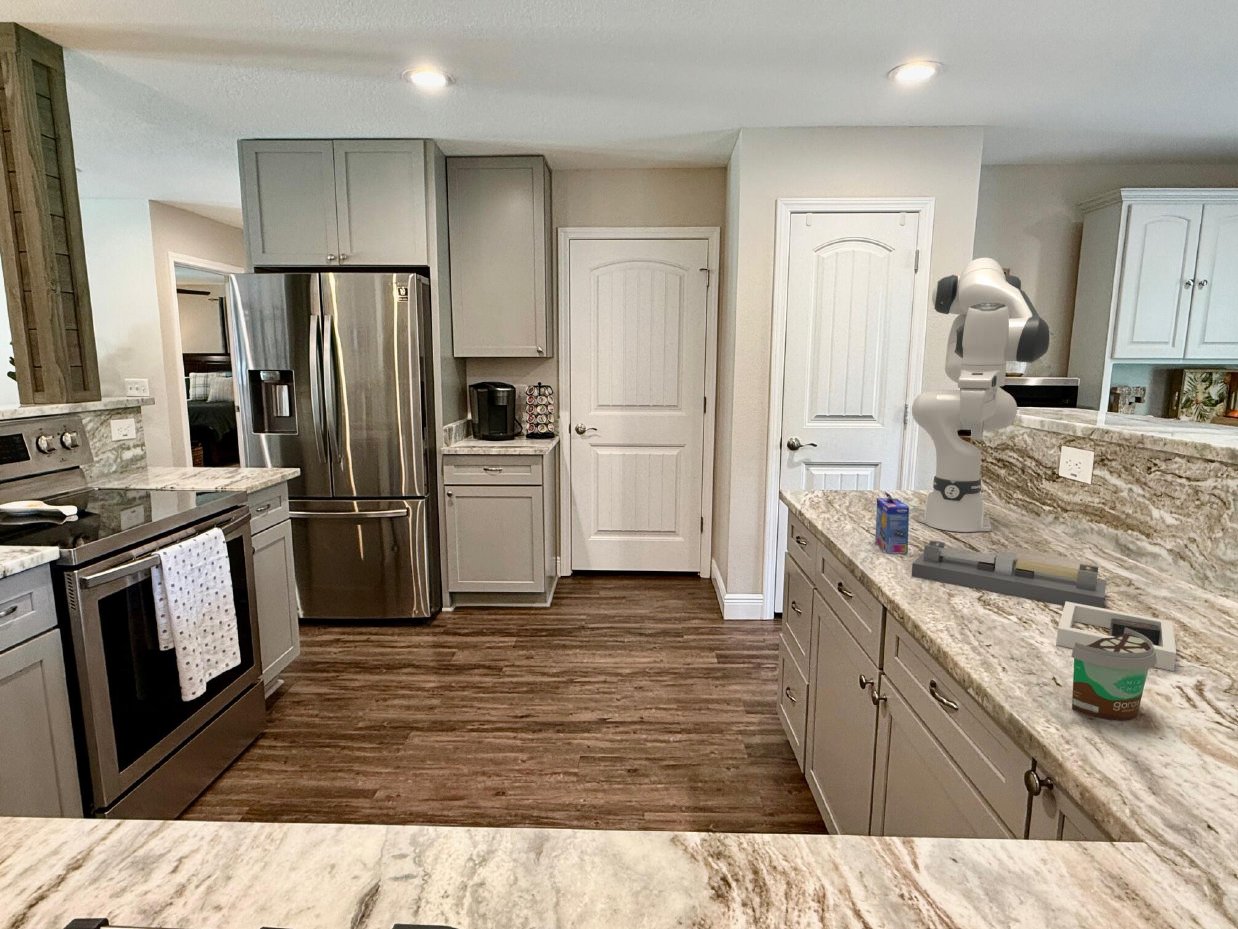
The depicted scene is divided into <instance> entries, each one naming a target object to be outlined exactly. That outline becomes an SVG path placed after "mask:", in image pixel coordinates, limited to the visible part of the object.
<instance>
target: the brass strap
mask: <svg viewBox="0 0 1238 929" xmlns="http://www.w3.org/2000/svg"><path fill="white" fill-rule="evenodd" d="M1016 568H1018V569H1024V570H1029V571H1035V572H1041V573H1046V574H1052V575H1057V576H1063V577H1068V578H1074V579H1077V577H1078V569H1074V568H1068V567H1062V566H1057V565H1051V564H1045V563H1039V562H1033V561H1027V560H1021V559H1018V560H1017V562H1016ZM1079 570H1080V569H1079ZM1085 571H1091V570H1088V569H1086V570H1085ZM1091 572H1092V571H1091Z"/></svg>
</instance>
